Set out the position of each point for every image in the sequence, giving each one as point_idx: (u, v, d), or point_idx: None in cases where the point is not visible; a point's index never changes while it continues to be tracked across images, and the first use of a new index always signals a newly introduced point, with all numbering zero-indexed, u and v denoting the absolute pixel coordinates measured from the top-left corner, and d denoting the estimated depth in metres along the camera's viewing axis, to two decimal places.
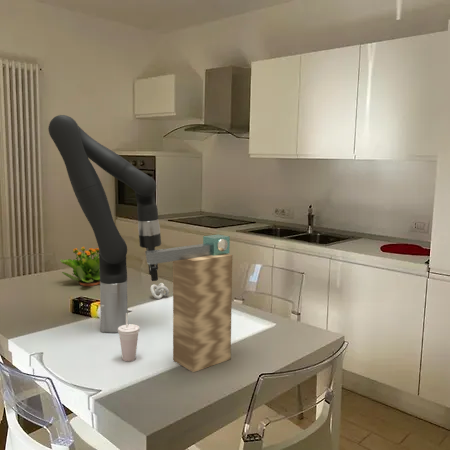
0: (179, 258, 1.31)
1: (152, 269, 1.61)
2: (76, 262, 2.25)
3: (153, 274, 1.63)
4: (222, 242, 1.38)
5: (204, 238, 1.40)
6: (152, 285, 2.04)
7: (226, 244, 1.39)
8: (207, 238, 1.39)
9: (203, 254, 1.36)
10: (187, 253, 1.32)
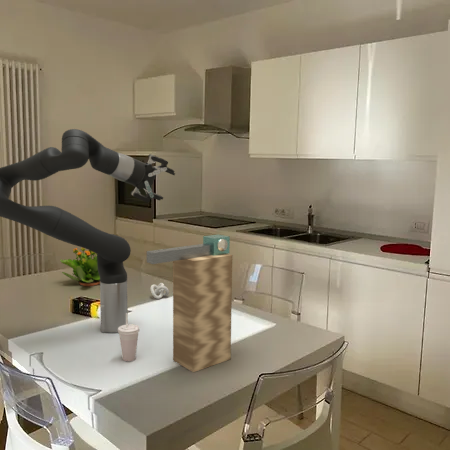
0: (179, 258, 1.31)
1: None
2: (76, 262, 2.25)
3: (153, 197, 1.50)
4: (222, 242, 1.38)
5: (204, 238, 1.40)
6: (152, 285, 2.04)
7: (226, 244, 1.39)
8: (207, 238, 1.39)
9: (203, 254, 1.36)
10: (187, 253, 1.32)
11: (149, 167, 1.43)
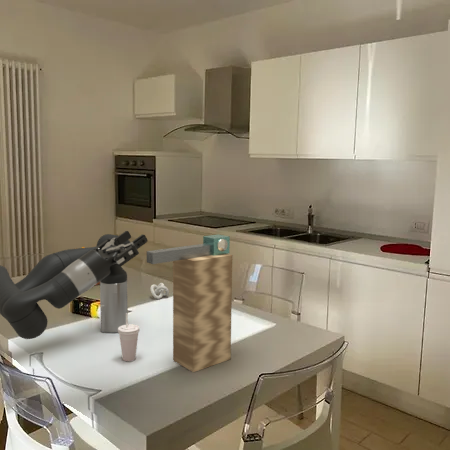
0: (179, 258, 1.31)
1: None
2: None
3: None
4: (222, 242, 1.38)
5: (204, 238, 1.40)
6: (152, 285, 2.03)
7: (226, 244, 1.39)
8: (207, 238, 1.39)
9: (203, 254, 1.36)
10: (187, 253, 1.32)
11: None
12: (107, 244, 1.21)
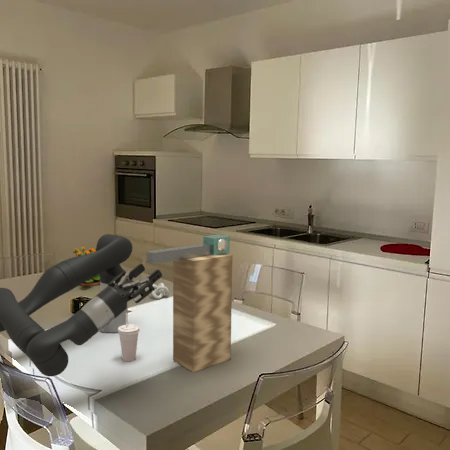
0: (179, 258, 1.31)
1: None
2: None
3: None
4: (222, 242, 1.38)
5: (204, 238, 1.40)
6: None
7: (226, 244, 1.39)
8: (207, 238, 1.39)
9: (203, 254, 1.36)
10: (187, 253, 1.32)
11: None
12: (123, 279, 1.25)
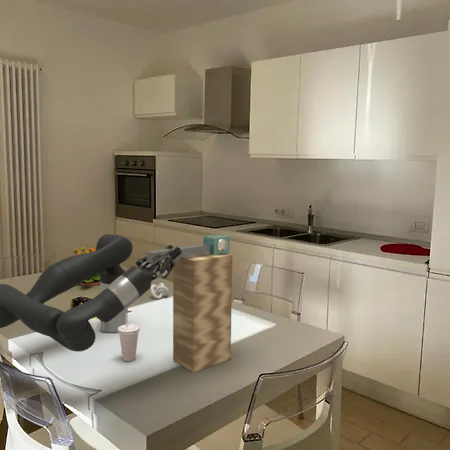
0: (179, 258, 1.31)
1: None
2: None
3: None
4: (222, 242, 1.38)
5: (204, 238, 1.40)
6: (152, 285, 2.04)
7: (226, 244, 1.39)
8: (207, 238, 1.39)
9: (203, 254, 1.36)
10: (187, 253, 1.32)
11: None
12: None
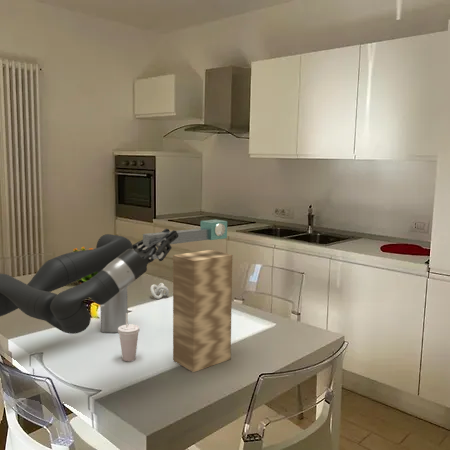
0: (176, 242, 1.29)
1: None
2: None
3: None
4: (219, 226, 1.37)
5: (201, 223, 1.39)
6: (152, 285, 2.04)
7: (224, 229, 1.38)
8: (204, 222, 1.37)
9: (200, 238, 1.35)
10: (184, 236, 1.31)
11: None
12: None
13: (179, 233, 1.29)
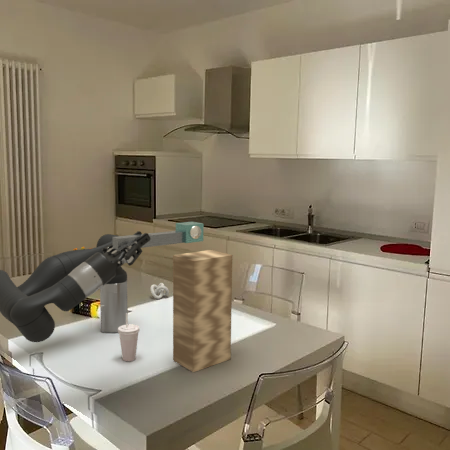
0: (148, 245, 1.24)
1: None
2: None
3: None
4: (195, 229, 1.31)
5: (176, 225, 1.33)
6: (152, 285, 2.03)
7: (199, 231, 1.32)
8: (179, 225, 1.32)
9: (174, 241, 1.29)
10: (156, 239, 1.25)
11: None
12: None
13: (151, 236, 1.24)
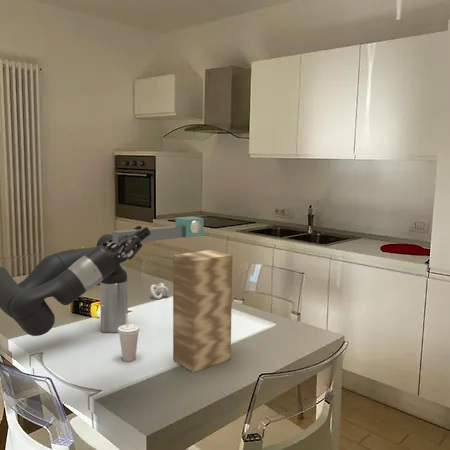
0: (148, 239, 1.23)
1: None
2: None
3: None
4: (195, 224, 1.31)
5: (176, 220, 1.33)
6: (152, 285, 2.04)
7: (199, 226, 1.32)
8: (179, 219, 1.32)
9: (174, 236, 1.29)
10: (156, 234, 1.25)
11: None
12: None
13: (151, 230, 1.24)
